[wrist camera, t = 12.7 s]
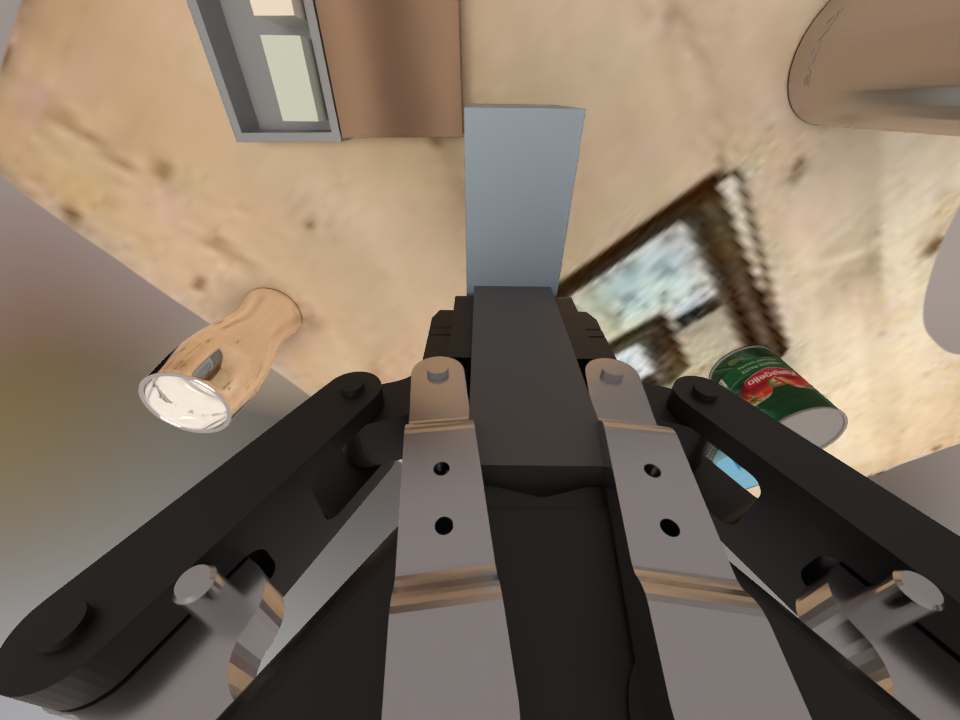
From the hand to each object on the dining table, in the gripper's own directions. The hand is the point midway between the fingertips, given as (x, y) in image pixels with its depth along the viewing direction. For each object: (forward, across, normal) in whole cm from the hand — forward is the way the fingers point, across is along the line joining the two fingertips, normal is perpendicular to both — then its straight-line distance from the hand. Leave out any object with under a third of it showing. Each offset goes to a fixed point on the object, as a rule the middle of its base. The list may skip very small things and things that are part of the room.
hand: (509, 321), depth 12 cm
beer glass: (+24, +24, +14) cm, 37 cm away
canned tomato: (+25, -33, +22) cm, 47 cm away
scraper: (+5, 0, 0) cm, 5 cm away
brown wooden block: (+25, +7, -10) cm, 27 cm away
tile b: (+22, +13, -7) cm, 26 cm away
